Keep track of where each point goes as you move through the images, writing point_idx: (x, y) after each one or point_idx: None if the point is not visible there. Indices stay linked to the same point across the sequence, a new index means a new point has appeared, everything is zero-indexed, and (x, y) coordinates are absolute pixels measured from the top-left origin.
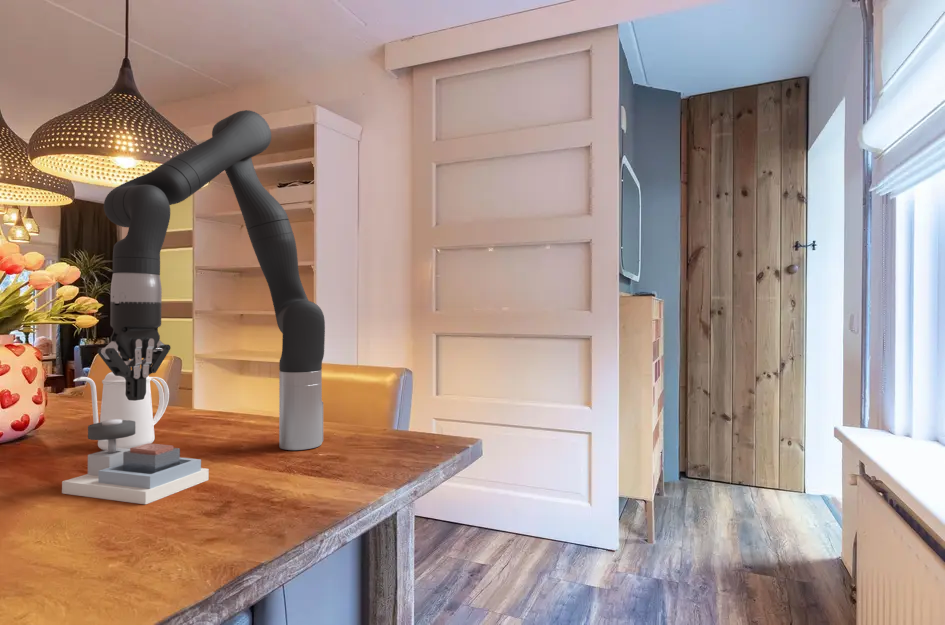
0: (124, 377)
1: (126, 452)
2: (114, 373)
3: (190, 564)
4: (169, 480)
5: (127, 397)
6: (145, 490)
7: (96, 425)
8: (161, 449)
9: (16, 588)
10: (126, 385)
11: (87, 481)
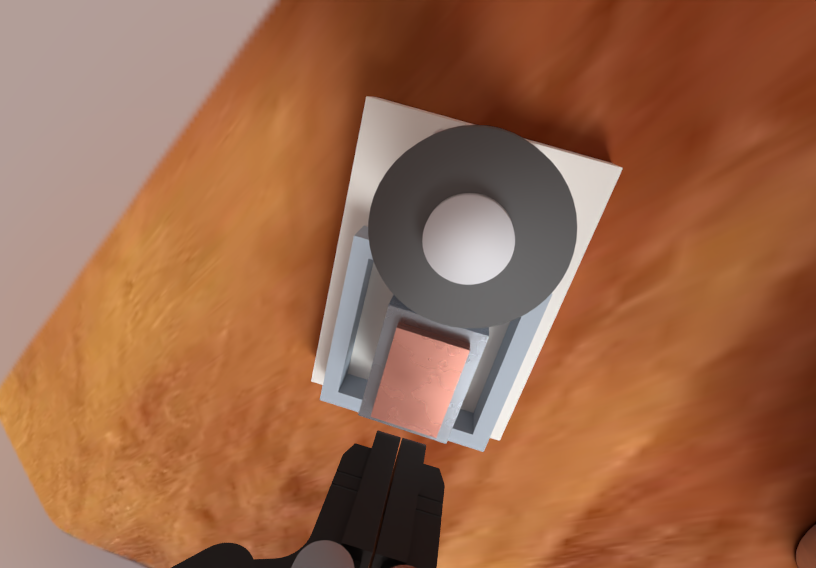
0: (286, 559)
1: (387, 316)
2: (191, 565)
3: (140, 514)
4: None
5: (377, 435)
6: (319, 376)
7: (435, 176)
8: (392, 422)
9: (26, 365)
10: (324, 508)
11: (372, 182)
